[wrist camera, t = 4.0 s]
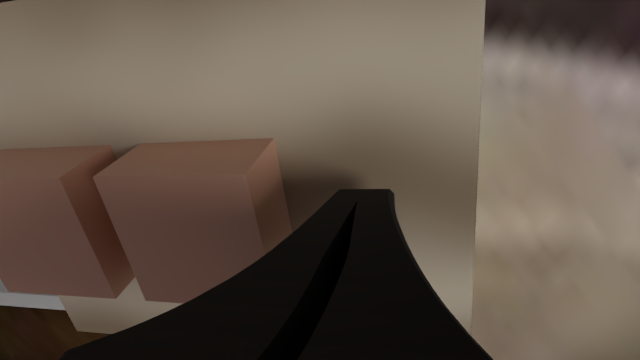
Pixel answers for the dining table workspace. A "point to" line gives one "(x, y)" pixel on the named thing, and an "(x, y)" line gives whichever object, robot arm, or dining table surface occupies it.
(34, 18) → the low rectangular platform
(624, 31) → the dining table surface
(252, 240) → the tile
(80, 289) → the tile
